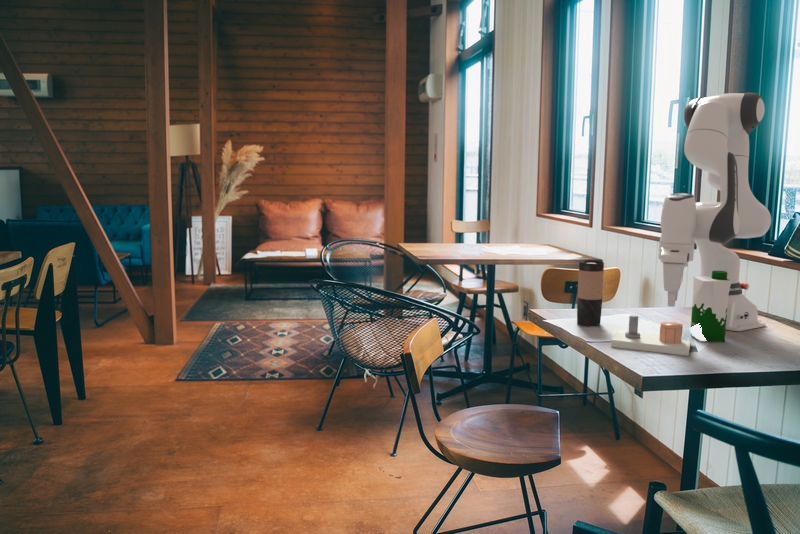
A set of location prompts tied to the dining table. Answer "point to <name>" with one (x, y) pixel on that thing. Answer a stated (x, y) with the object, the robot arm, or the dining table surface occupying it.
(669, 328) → the cap
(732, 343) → the dining table surface
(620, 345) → the post board
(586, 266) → the travel mug
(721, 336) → the milk carton
